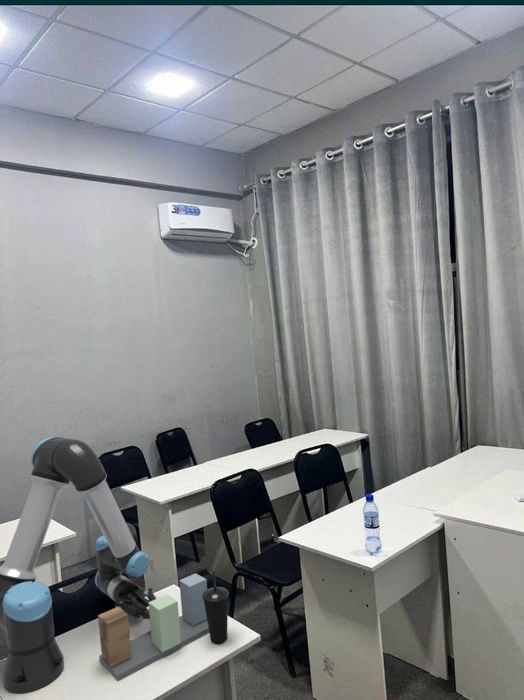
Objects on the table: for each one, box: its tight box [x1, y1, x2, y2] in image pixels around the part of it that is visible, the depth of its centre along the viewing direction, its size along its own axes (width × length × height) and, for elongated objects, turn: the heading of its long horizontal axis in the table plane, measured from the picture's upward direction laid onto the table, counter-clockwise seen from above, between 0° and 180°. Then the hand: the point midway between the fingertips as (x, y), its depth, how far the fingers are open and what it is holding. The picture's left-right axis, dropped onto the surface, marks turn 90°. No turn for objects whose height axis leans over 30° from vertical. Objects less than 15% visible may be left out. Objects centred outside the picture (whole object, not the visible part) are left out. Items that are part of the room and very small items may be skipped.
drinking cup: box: [202, 571, 230, 645], centre depth 150 cm, size 8×8×20 cm
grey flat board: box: [98, 615, 210, 681], centre depth 150 cm, size 12×32×2 cm, turn 130°
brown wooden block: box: [97, 607, 132, 667], centre depth 142 cm, size 6×6×12 cm
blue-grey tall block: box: [178, 573, 208, 626], centre depth 159 cm, size 6×6×12 cm
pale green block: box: [148, 594, 181, 652], centre depth 147 cm, size 6×6×12 cm
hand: (159, 619), depth 150 cm, fingers closed
